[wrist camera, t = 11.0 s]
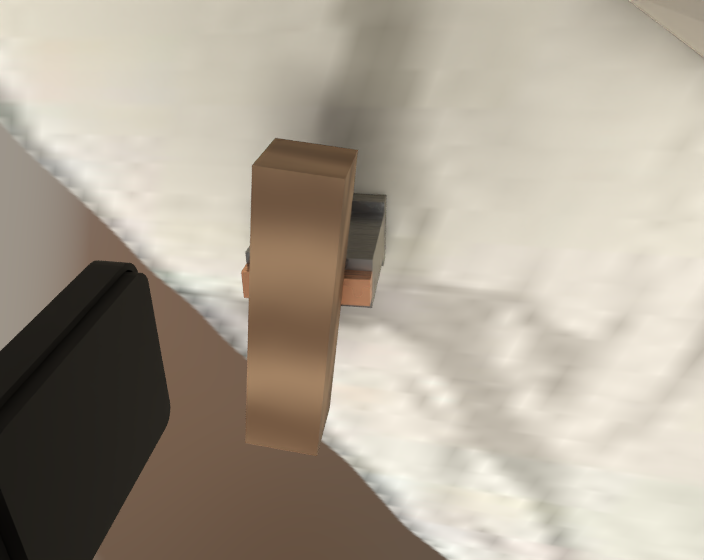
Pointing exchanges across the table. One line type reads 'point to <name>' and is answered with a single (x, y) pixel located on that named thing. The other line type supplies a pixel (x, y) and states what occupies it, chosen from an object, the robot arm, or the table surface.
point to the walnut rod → (295, 289)
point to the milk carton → (678, 19)
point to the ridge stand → (357, 251)
